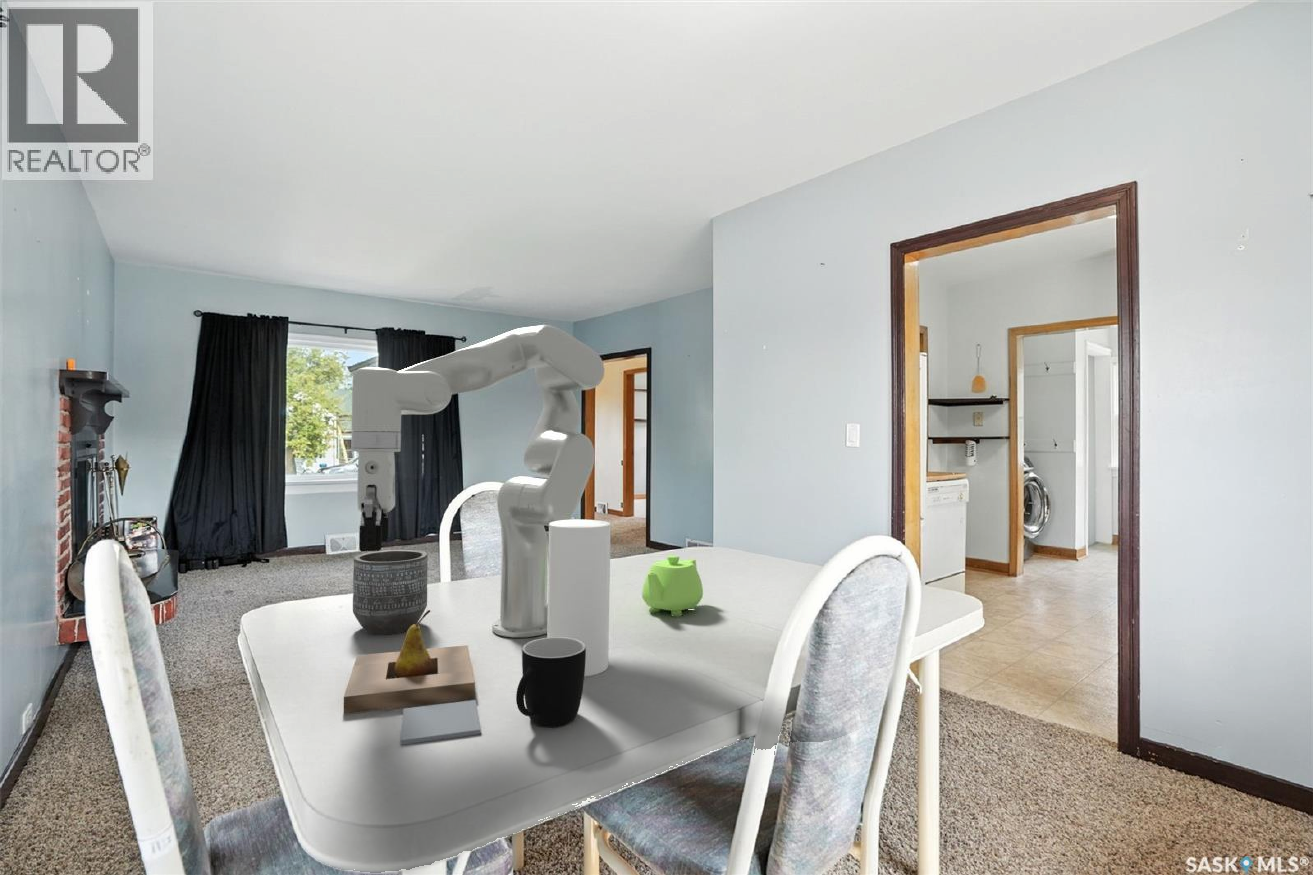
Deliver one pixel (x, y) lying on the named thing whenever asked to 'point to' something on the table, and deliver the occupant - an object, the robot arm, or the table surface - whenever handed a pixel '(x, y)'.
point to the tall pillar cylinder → (580, 587)
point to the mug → (551, 680)
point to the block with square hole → (409, 681)
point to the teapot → (672, 586)
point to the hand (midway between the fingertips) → (374, 545)
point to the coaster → (439, 722)
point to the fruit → (413, 655)
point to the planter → (389, 590)
